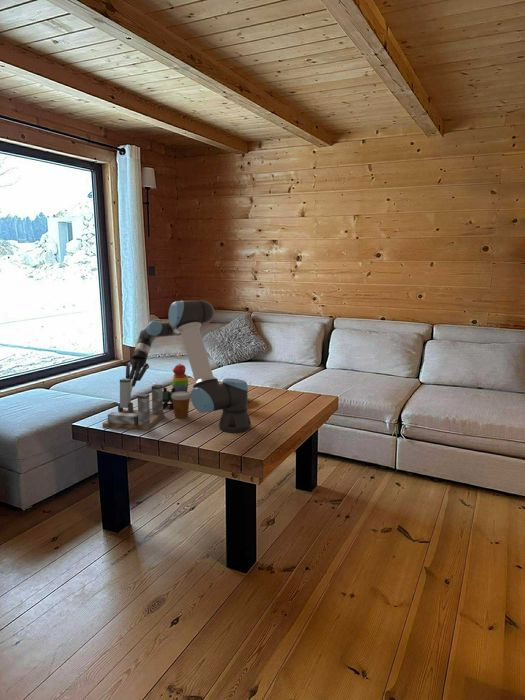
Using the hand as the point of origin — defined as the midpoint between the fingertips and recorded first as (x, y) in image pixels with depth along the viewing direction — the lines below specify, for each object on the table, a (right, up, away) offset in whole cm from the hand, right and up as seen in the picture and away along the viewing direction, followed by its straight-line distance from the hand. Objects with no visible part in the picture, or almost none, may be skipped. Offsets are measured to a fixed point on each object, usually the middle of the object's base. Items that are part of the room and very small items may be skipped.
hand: (128, 391), depth 248 cm
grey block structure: (+6, -13, -13) cm, 20 cm away
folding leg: (-1, -8, -4) cm, 9 cm away
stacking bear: (+20, -5, +36) cm, 41 cm away
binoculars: (+18, -10, +9) cm, 23 cm away
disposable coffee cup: (+28, -13, -5) cm, 31 cm away
